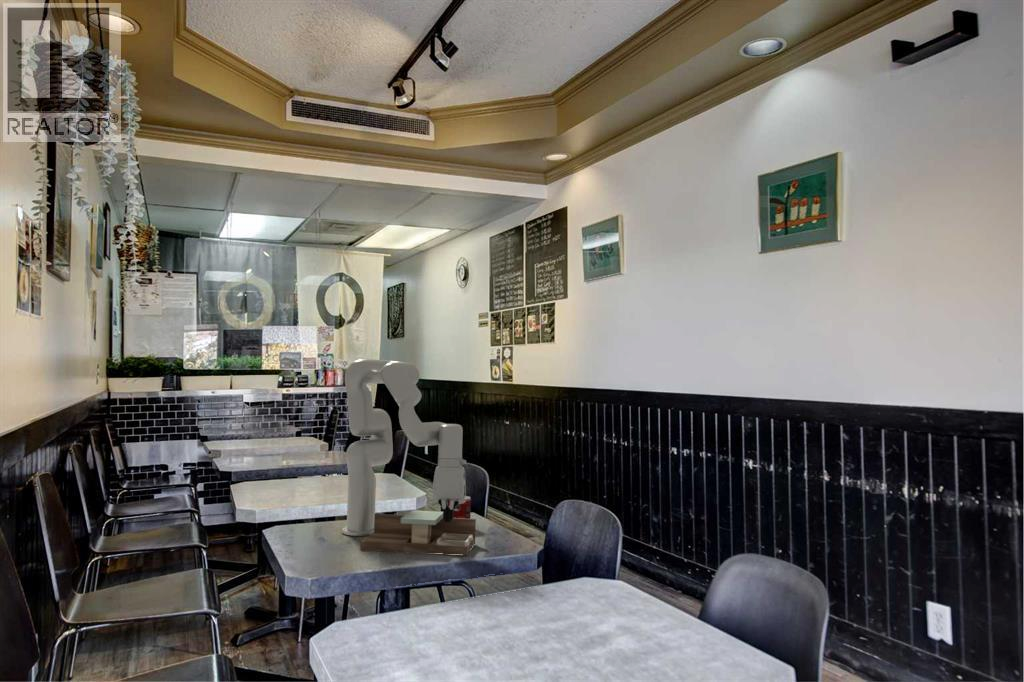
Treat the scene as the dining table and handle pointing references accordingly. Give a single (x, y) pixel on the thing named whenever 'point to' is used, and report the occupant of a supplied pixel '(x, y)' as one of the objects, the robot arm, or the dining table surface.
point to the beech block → (421, 533)
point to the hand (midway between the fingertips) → (448, 521)
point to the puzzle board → (399, 538)
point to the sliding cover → (422, 517)
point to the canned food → (462, 509)
